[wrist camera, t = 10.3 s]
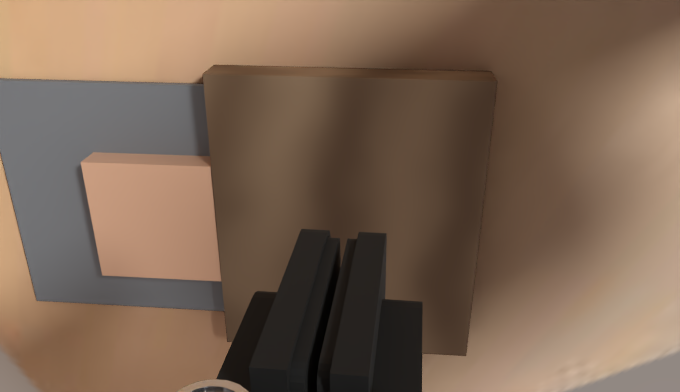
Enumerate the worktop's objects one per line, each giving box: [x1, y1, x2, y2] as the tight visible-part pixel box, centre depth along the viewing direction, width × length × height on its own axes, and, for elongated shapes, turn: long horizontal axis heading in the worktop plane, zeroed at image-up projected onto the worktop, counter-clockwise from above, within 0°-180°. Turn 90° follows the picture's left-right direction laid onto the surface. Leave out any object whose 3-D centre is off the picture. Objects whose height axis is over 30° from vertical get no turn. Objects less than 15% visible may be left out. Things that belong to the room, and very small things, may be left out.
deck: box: [203, 65, 497, 356], centre depth 33 cm, size 14×16×2 cm
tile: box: [81, 152, 222, 281], centre depth 34 cm, size 7×7×2 cm
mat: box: [0, 78, 224, 311], centre depth 35 cm, size 12×14×1 cm
